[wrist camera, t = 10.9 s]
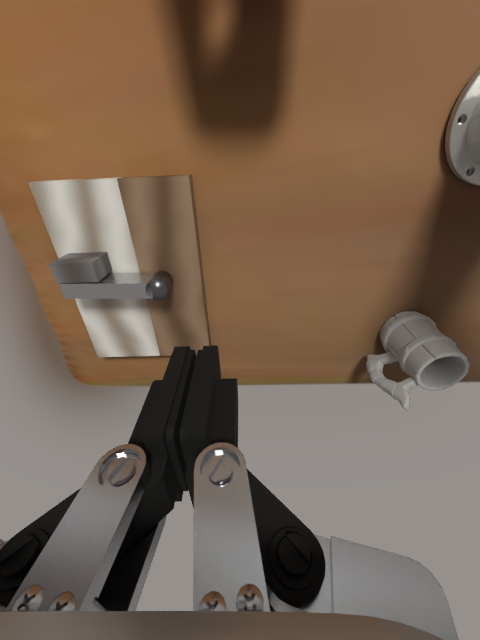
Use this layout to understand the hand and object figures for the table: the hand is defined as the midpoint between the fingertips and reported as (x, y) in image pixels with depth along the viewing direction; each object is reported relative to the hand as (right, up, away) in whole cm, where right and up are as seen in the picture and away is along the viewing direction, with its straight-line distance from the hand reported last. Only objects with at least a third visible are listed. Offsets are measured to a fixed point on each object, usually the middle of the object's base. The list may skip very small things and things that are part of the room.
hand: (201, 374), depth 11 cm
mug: (+26, 0, +32) cm, 41 cm away
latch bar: (-14, +7, +24) cm, 29 cm away
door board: (-13, +8, +27) cm, 31 cm away
